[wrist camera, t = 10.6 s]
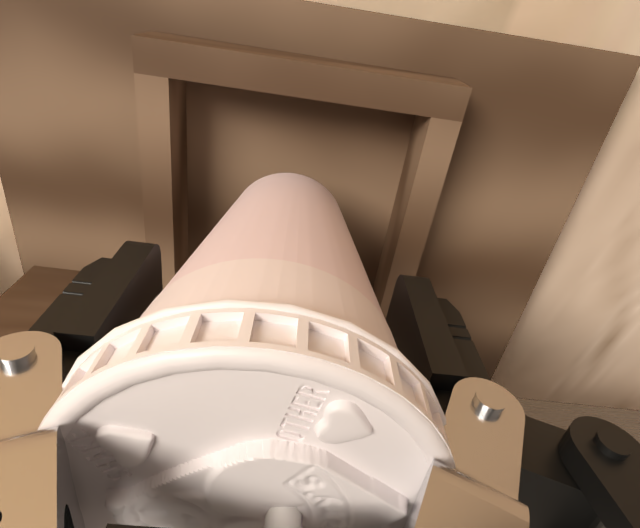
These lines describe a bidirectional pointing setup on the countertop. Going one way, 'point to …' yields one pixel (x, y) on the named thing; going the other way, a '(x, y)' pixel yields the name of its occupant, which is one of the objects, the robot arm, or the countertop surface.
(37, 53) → the holder
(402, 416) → the smoothie
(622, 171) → the countertop surface
